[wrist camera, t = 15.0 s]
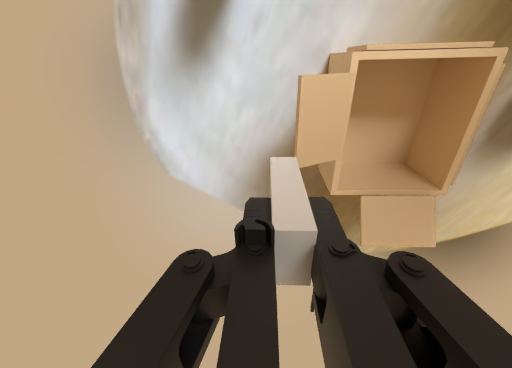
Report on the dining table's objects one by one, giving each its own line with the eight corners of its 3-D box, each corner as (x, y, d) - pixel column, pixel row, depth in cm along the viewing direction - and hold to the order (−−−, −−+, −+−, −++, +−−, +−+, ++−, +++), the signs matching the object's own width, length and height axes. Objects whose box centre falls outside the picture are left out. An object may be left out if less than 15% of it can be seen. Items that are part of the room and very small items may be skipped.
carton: (330, 48, 33) (353, 45, 24) (450, 45, 32) (518, 40, 24) (317, 166, 42) (330, 195, 33) (410, 166, 41) (449, 195, 32)
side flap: (301, 75, 22) (298, 75, 23) (295, 169, 27) (293, 167, 27) (355, 72, 25) (351, 72, 25) (340, 158, 30) (338, 157, 30)
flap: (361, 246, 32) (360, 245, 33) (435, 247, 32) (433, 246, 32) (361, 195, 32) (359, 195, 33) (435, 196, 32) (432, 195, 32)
